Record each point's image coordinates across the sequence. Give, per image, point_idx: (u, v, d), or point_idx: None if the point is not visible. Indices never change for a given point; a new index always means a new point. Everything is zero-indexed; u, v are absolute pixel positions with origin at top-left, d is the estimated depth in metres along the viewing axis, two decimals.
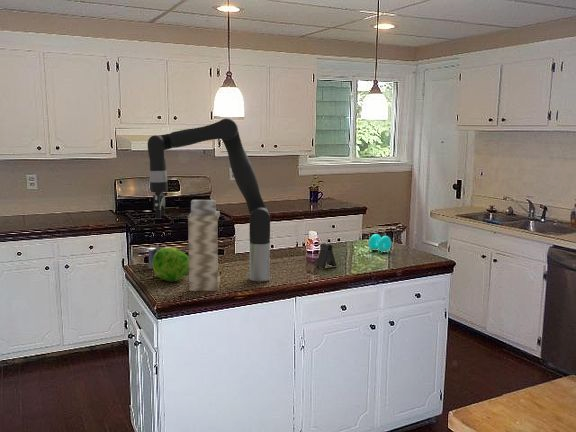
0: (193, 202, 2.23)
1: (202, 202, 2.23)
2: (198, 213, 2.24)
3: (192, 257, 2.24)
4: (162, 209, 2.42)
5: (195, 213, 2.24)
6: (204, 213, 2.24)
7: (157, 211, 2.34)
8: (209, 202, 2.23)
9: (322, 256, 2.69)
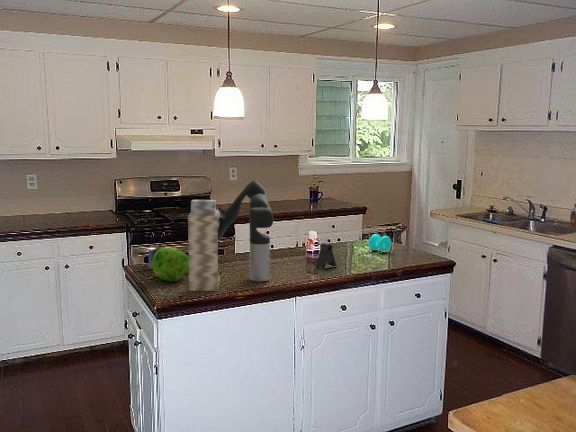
0: (193, 202, 2.23)
1: (202, 202, 2.23)
2: (198, 213, 2.24)
3: (192, 257, 2.24)
4: None
5: (195, 213, 2.24)
6: (204, 213, 2.24)
7: None
8: (209, 202, 2.23)
9: (322, 256, 2.69)
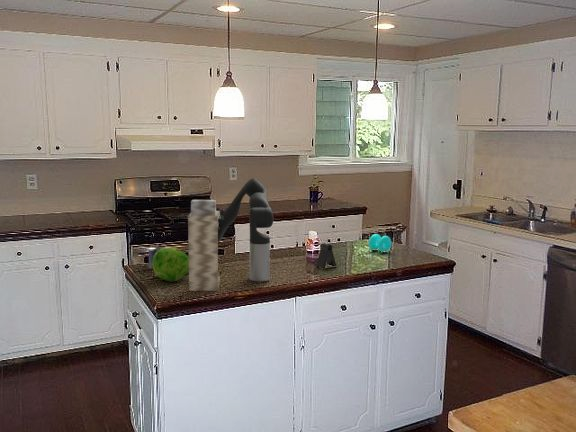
0: (193, 202, 2.23)
1: (202, 202, 2.23)
2: (198, 213, 2.24)
3: (192, 257, 2.24)
4: None
5: (195, 213, 2.24)
6: (204, 213, 2.24)
7: None
8: (209, 202, 2.23)
9: (322, 256, 2.69)
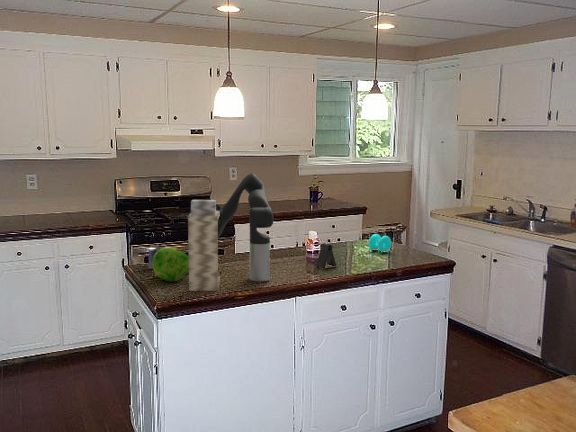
0: (193, 202, 2.23)
1: (202, 202, 2.23)
2: (198, 213, 2.24)
3: (192, 257, 2.24)
4: None
5: (195, 213, 2.24)
6: (204, 213, 2.24)
7: None
8: (209, 202, 2.23)
9: (322, 256, 2.69)
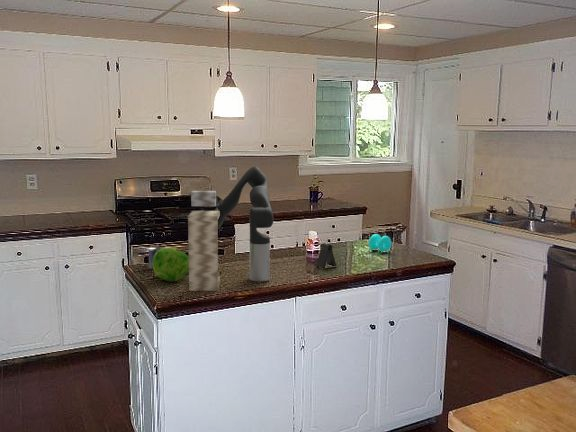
0: (193, 193, 2.24)
1: (202, 193, 2.24)
2: (199, 204, 2.25)
3: (192, 257, 2.24)
4: None
5: (196, 204, 2.25)
6: (204, 204, 2.25)
7: None
8: (209, 193, 2.25)
9: (322, 256, 2.69)
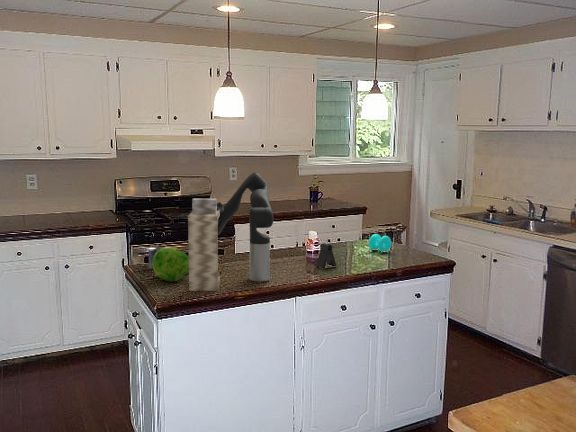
0: (194, 201, 2.28)
1: (203, 201, 2.28)
2: (200, 212, 2.29)
3: (192, 257, 2.24)
4: None
5: (197, 212, 2.29)
6: (205, 211, 2.29)
7: None
8: (210, 201, 2.28)
9: (322, 256, 2.69)
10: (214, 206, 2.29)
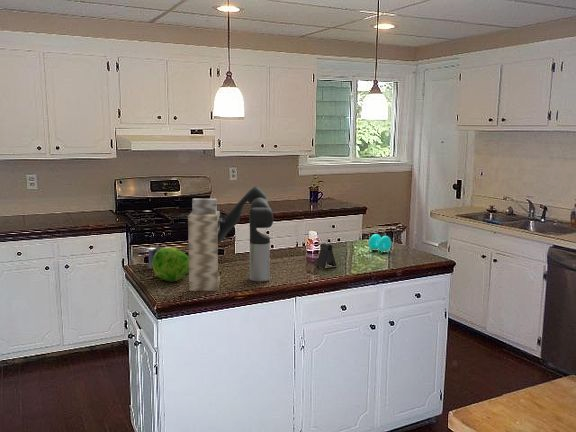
0: (194, 201, 2.28)
1: (203, 201, 2.28)
2: (200, 212, 2.29)
3: (192, 257, 2.24)
4: None
5: (197, 212, 2.29)
6: (205, 211, 2.29)
7: None
8: (210, 201, 2.28)
9: (322, 256, 2.69)
10: (214, 206, 2.29)
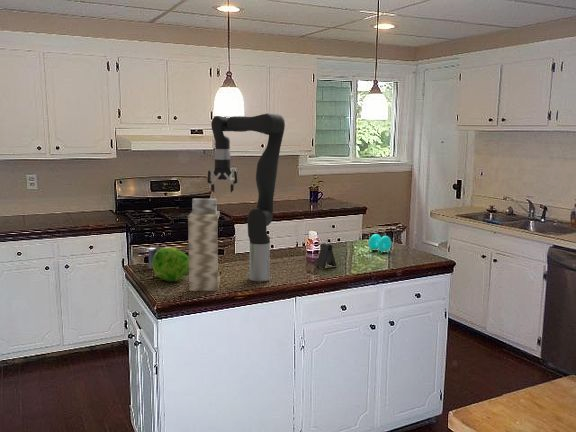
0: (194, 201, 2.28)
1: (203, 201, 2.28)
2: (200, 212, 2.29)
3: (192, 257, 2.24)
4: None
5: (197, 212, 2.29)
6: (205, 211, 2.29)
7: None
8: (210, 201, 2.28)
9: (322, 256, 2.69)
10: (214, 206, 2.29)
